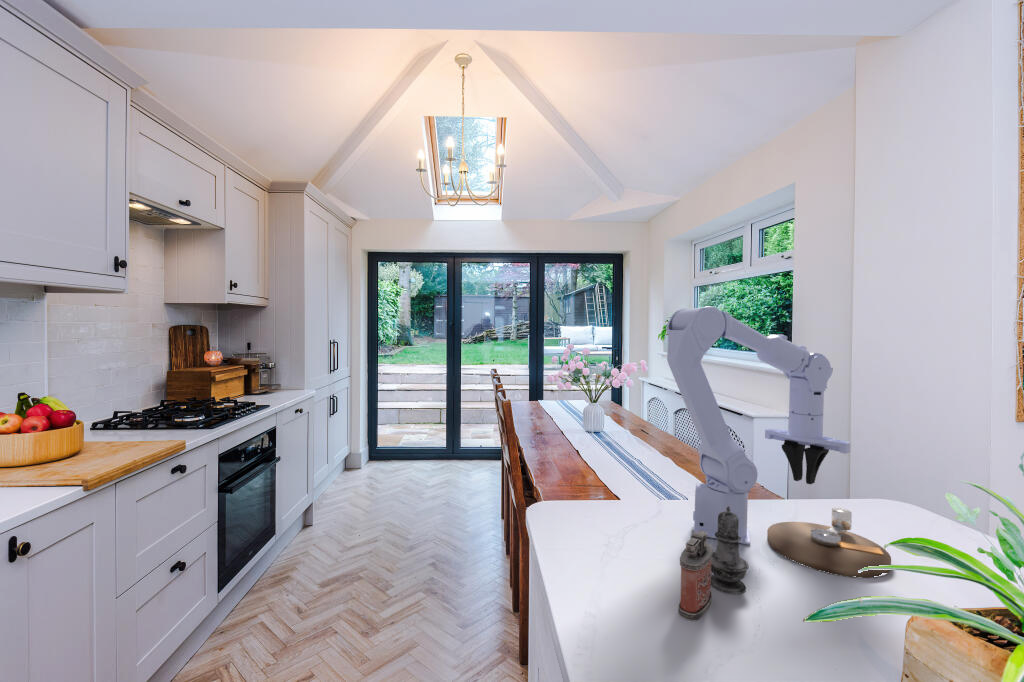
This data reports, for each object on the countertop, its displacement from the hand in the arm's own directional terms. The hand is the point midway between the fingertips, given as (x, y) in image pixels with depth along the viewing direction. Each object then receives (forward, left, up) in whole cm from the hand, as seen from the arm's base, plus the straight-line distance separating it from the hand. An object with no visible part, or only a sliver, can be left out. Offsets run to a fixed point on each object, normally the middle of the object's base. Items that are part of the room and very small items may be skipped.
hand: (804, 481), depth 90 cm
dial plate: (+2, -9, -9) cm, 13 cm away
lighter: (-18, -37, -10) cm, 43 cm away
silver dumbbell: (+4, -7, -8) cm, 11 cm away
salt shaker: (-14, -29, -10) cm, 34 cm away
